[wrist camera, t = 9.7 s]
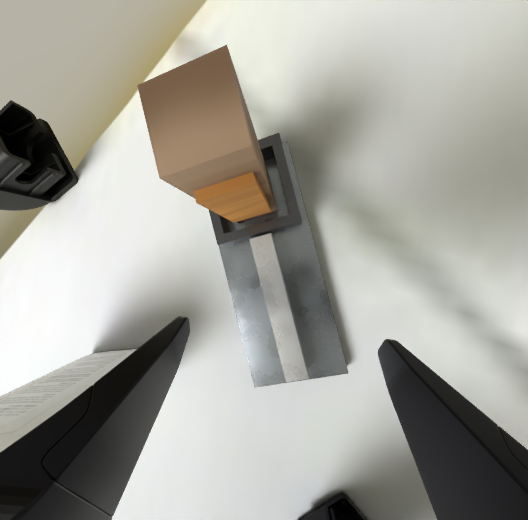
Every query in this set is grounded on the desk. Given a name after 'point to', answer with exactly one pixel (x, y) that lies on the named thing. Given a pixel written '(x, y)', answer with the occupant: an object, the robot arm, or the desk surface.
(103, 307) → the desk surface
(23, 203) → the end cap
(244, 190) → the brown tall block
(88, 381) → the photo printer
